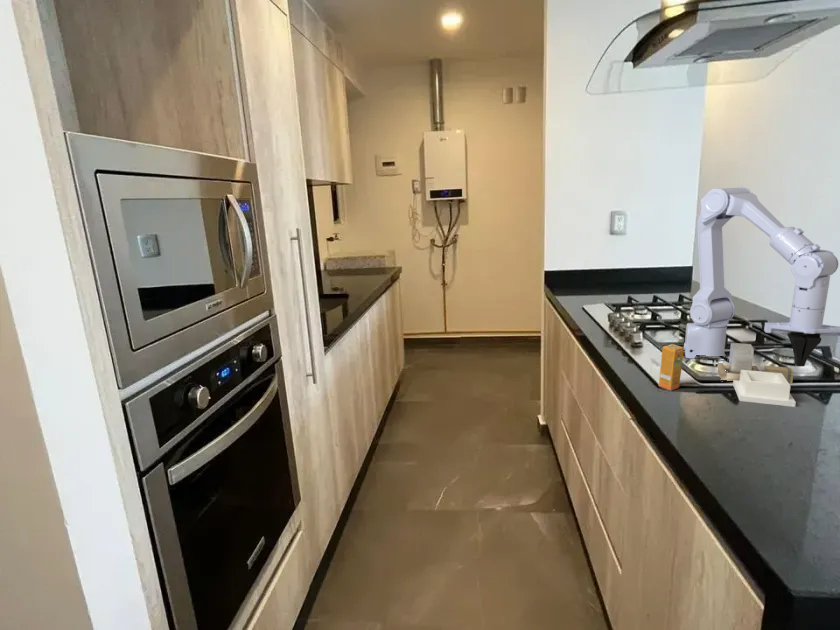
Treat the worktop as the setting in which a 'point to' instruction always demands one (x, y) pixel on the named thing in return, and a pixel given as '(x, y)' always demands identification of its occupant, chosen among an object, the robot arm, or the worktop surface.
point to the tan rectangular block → (785, 371)
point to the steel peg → (740, 357)
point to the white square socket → (763, 388)
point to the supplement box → (671, 367)
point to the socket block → (729, 376)
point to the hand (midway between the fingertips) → (799, 364)
